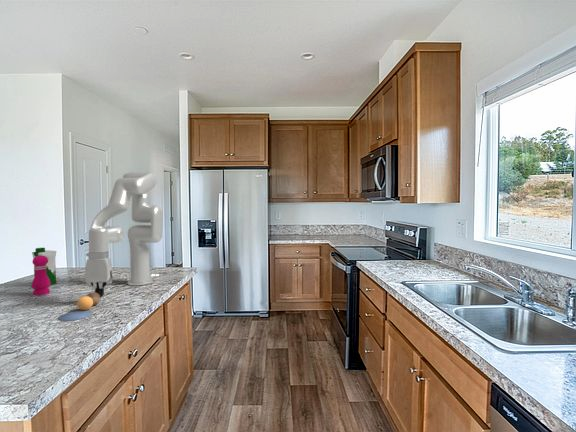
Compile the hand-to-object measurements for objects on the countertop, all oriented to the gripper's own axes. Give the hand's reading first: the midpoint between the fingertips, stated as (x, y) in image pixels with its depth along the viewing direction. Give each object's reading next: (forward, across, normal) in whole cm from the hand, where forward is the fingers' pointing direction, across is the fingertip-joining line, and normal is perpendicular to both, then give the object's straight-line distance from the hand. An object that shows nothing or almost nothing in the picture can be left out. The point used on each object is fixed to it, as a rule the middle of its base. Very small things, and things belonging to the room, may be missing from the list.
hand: (99, 296), depth 143 cm
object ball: (0, 0, -11) cm, 11 cm away
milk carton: (+2, -45, +33) cm, 56 cm away
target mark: (+2, 0, -18) cm, 18 cm away
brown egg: (-1, 0, -5) cm, 5 cm away
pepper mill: (+2, -35, +15) cm, 38 cm away
